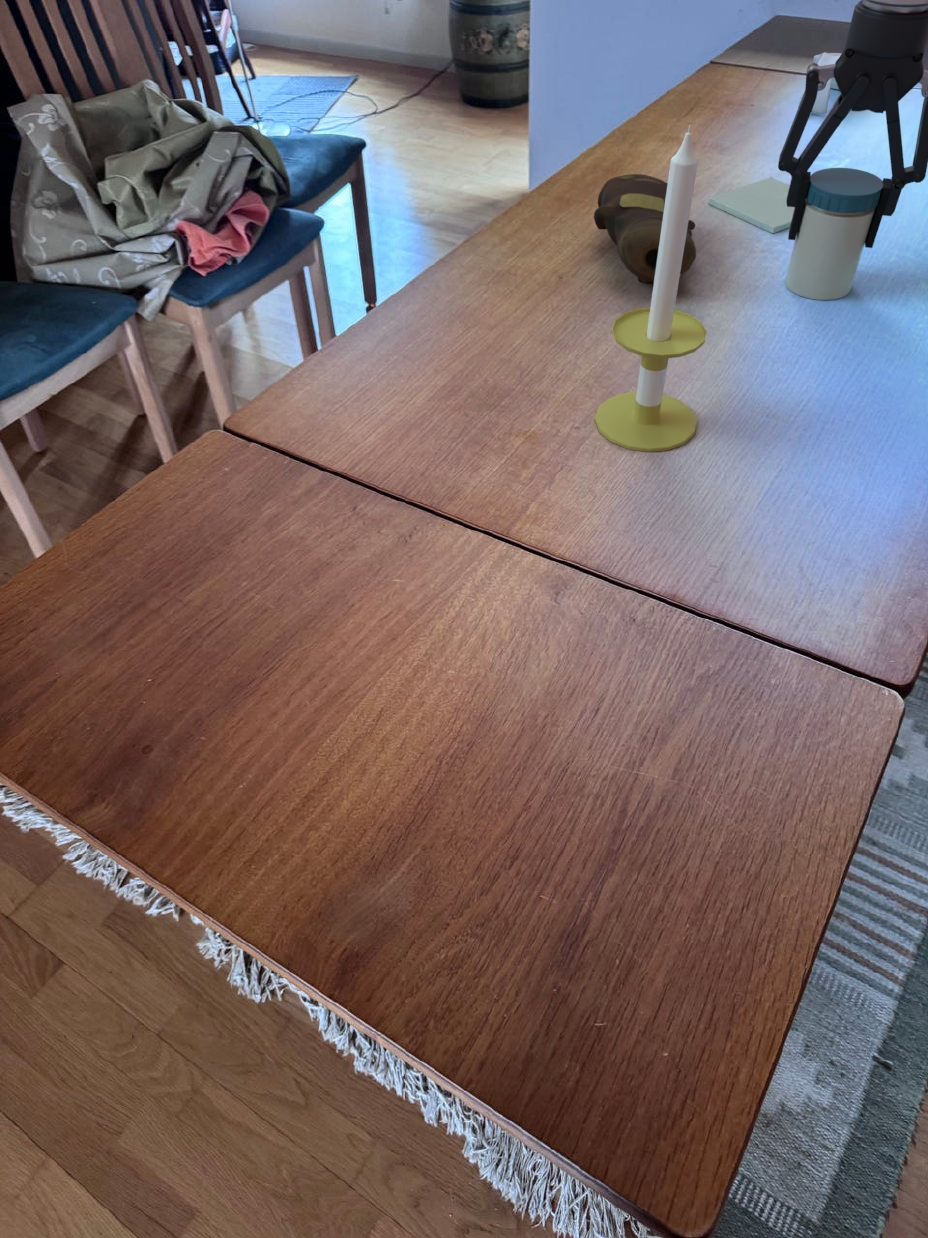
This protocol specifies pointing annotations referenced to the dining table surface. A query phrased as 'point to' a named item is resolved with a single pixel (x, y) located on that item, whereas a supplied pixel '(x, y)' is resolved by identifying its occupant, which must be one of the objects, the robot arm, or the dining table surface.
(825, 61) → the spoon rest
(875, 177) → the lid
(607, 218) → the pottery vessel
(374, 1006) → the dining table surface
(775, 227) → the tile
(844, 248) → the jar
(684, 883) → the dining table surface
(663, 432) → the candle
